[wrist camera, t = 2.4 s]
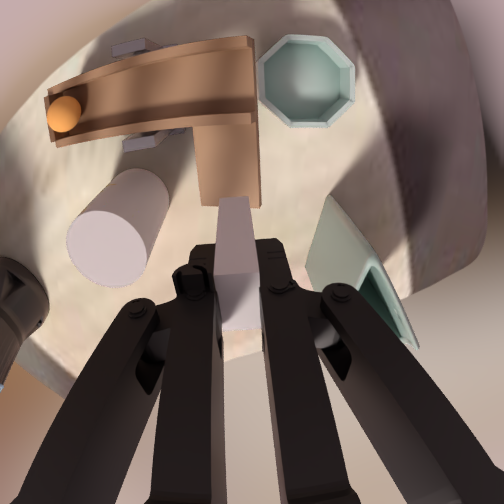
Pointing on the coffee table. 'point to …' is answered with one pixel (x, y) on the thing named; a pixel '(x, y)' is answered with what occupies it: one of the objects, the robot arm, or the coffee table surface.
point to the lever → (179, 108)
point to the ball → (64, 114)
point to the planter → (355, 268)
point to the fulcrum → (149, 137)
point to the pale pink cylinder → (119, 229)
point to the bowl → (305, 81)
